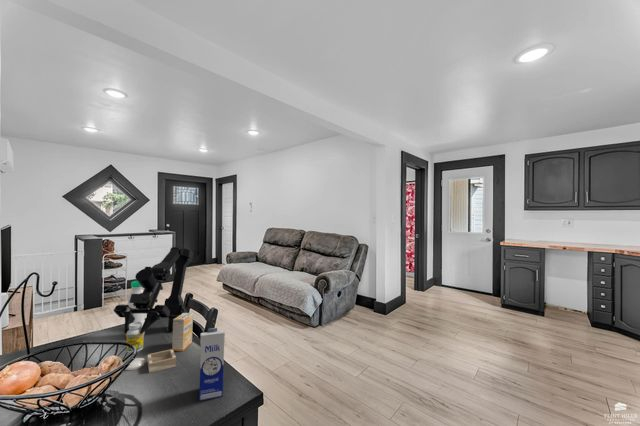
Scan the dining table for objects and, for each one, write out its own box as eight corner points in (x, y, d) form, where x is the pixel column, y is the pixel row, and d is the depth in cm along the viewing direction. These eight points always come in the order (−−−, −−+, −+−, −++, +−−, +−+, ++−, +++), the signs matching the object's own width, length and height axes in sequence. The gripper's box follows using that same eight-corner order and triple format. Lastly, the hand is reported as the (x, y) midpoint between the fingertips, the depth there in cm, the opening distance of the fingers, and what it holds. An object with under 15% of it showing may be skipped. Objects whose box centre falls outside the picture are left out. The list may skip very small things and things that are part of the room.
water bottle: (127, 334, 131) (129, 280, 131) (145, 332, 134) (147, 279, 134) (124, 340, 125) (126, 283, 125) (143, 338, 127) (145, 282, 128)
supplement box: (183, 351, 116) (184, 319, 117) (171, 351, 117) (172, 319, 117) (192, 342, 125) (193, 312, 125) (181, 342, 125) (182, 312, 125)
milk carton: (198, 401, 86) (200, 335, 86) (198, 388, 92) (200, 326, 92) (223, 396, 89) (225, 332, 89) (222, 384, 95) (223, 324, 95)
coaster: (122, 363, 106) (122, 360, 106) (144, 358, 110) (144, 356, 110) (122, 372, 100) (122, 369, 100) (145, 366, 104) (145, 364, 104)
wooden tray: (147, 362, 107) (147, 354, 107) (172, 356, 112) (172, 348, 112) (149, 372, 100) (149, 364, 100) (175, 366, 105) (176, 358, 105)
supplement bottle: (144, 345, 109) (144, 320, 109) (142, 351, 104) (143, 325, 104) (127, 347, 106) (127, 322, 106) (124, 354, 102) (125, 327, 102)
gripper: (117, 283, 109) (95, 323, 98) (167, 284, 110) (151, 324, 99) (129, 297, 117) (110, 336, 106) (176, 298, 118) (162, 336, 107)
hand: (133, 333), depth 104 cm, fingers closed on supplement bottle, 5 cm apart
